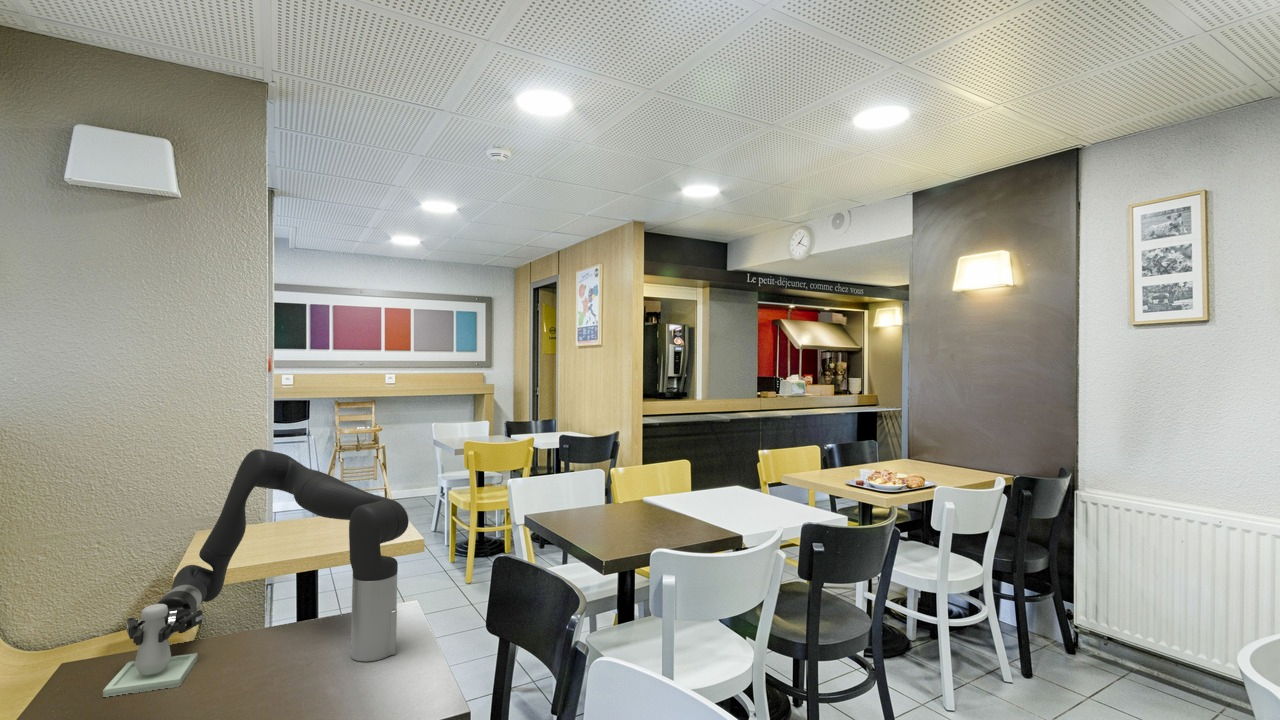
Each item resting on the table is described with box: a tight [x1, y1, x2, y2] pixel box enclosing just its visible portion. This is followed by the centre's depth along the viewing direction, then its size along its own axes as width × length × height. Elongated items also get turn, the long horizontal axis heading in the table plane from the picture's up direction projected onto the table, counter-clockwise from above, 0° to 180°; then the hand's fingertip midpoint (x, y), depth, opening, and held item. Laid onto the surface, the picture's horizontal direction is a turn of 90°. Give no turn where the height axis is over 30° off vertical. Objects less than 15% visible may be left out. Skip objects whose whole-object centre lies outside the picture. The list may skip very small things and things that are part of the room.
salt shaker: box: [134, 603, 172, 676], centre depth 125 cm, size 6×6×13 cm
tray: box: [102, 652, 198, 698], centre depth 125 cm, size 12×12×2 cm
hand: (149, 638), depth 122 cm, fingers open, 3 cm apart
